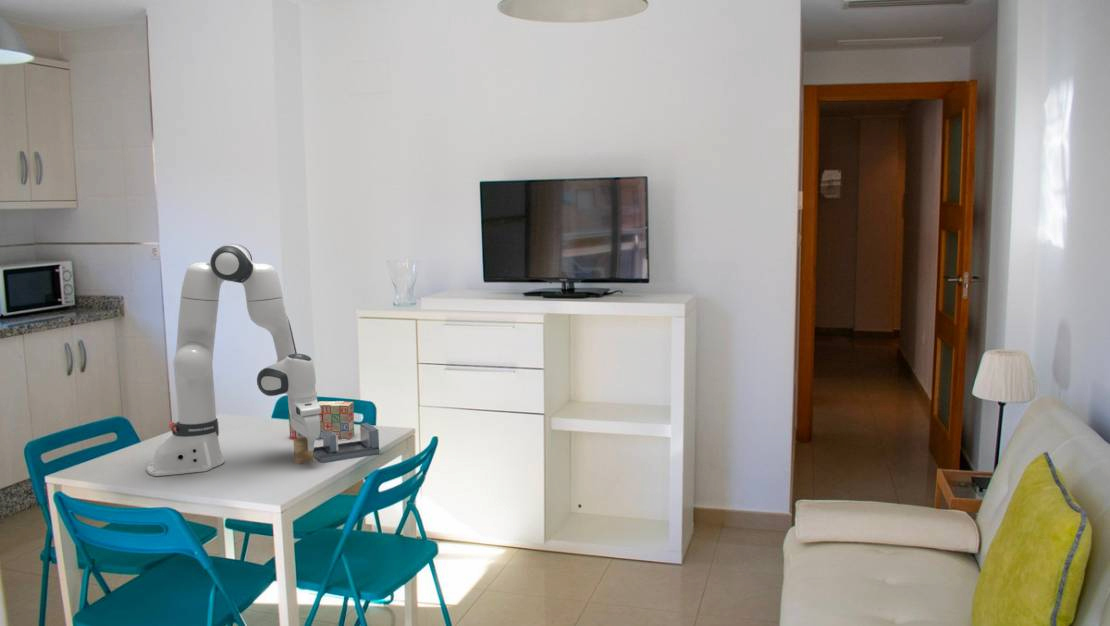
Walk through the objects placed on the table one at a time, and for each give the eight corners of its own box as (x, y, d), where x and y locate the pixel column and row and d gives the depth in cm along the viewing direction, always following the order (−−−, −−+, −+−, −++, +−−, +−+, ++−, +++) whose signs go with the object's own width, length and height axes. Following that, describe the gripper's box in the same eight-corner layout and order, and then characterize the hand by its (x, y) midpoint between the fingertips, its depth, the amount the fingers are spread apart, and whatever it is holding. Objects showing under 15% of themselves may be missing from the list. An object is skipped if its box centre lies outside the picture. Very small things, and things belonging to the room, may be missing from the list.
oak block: (297, 463, 287) (296, 441, 286) (294, 460, 290) (293, 439, 289) (313, 461, 289) (312, 439, 288) (310, 458, 293) (309, 436, 292)
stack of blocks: (289, 439, 317) (287, 404, 315) (296, 434, 323) (294, 400, 321) (349, 439, 315) (347, 405, 313) (354, 435, 321) (353, 401, 320)
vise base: (321, 462, 287) (320, 438, 286) (311, 454, 296) (310, 430, 295) (379, 453, 296) (378, 429, 295) (368, 446, 306) (367, 422, 305)
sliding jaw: (330, 454, 290) (329, 436, 289) (323, 448, 297) (322, 430, 296) (338, 453, 291) (337, 435, 290) (331, 447, 298) (330, 429, 297)
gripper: (284, 400, 295) (287, 442, 297) (302, 412, 278) (305, 456, 280) (303, 397, 299) (306, 438, 300) (322, 409, 281) (325, 452, 283)
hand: (306, 447), depth 290 cm, fingers open, 8 cm apart
